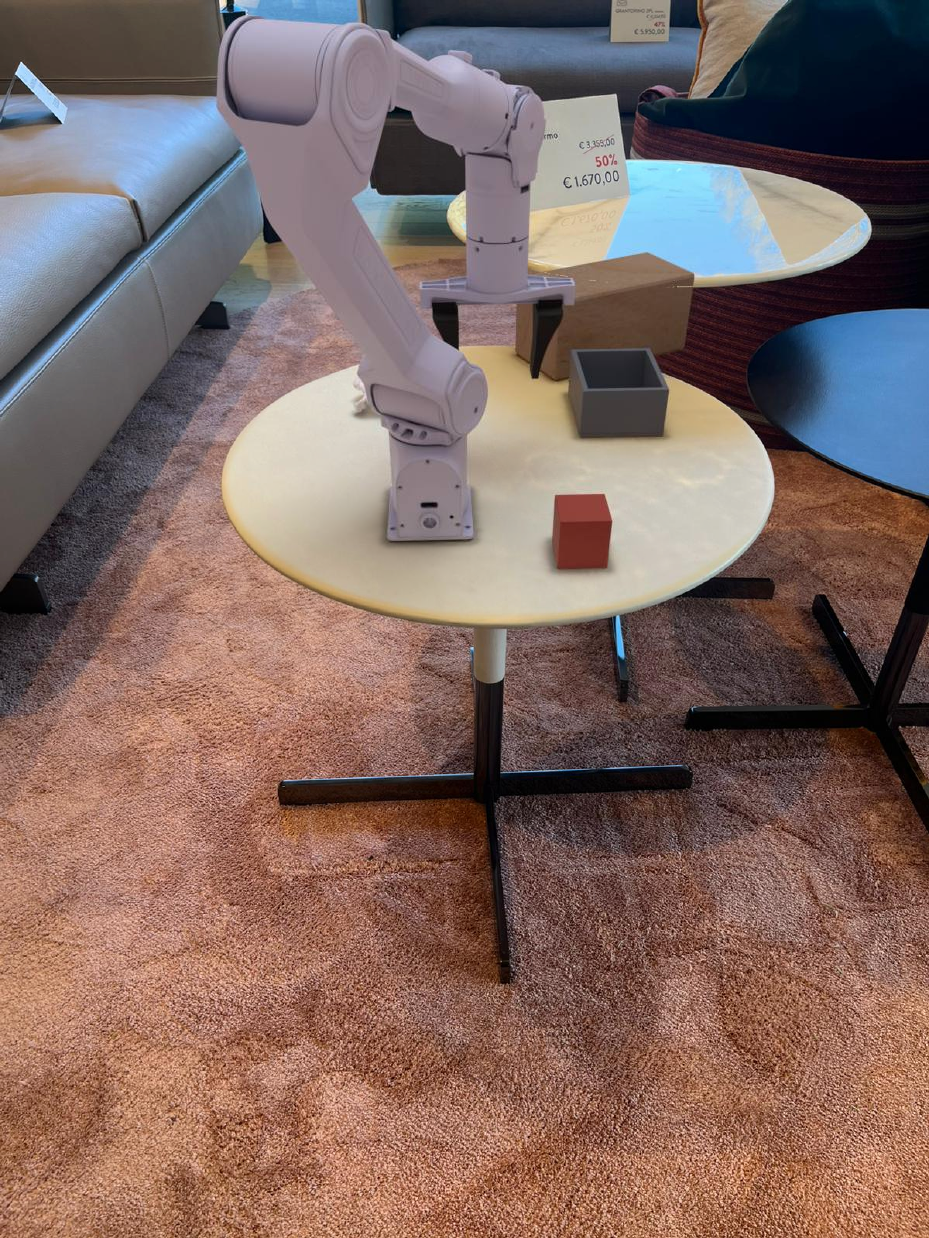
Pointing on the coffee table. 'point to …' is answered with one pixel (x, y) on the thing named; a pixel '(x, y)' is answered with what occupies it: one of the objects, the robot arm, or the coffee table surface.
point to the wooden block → (614, 310)
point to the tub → (617, 393)
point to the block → (581, 531)
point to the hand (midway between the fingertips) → (495, 375)
